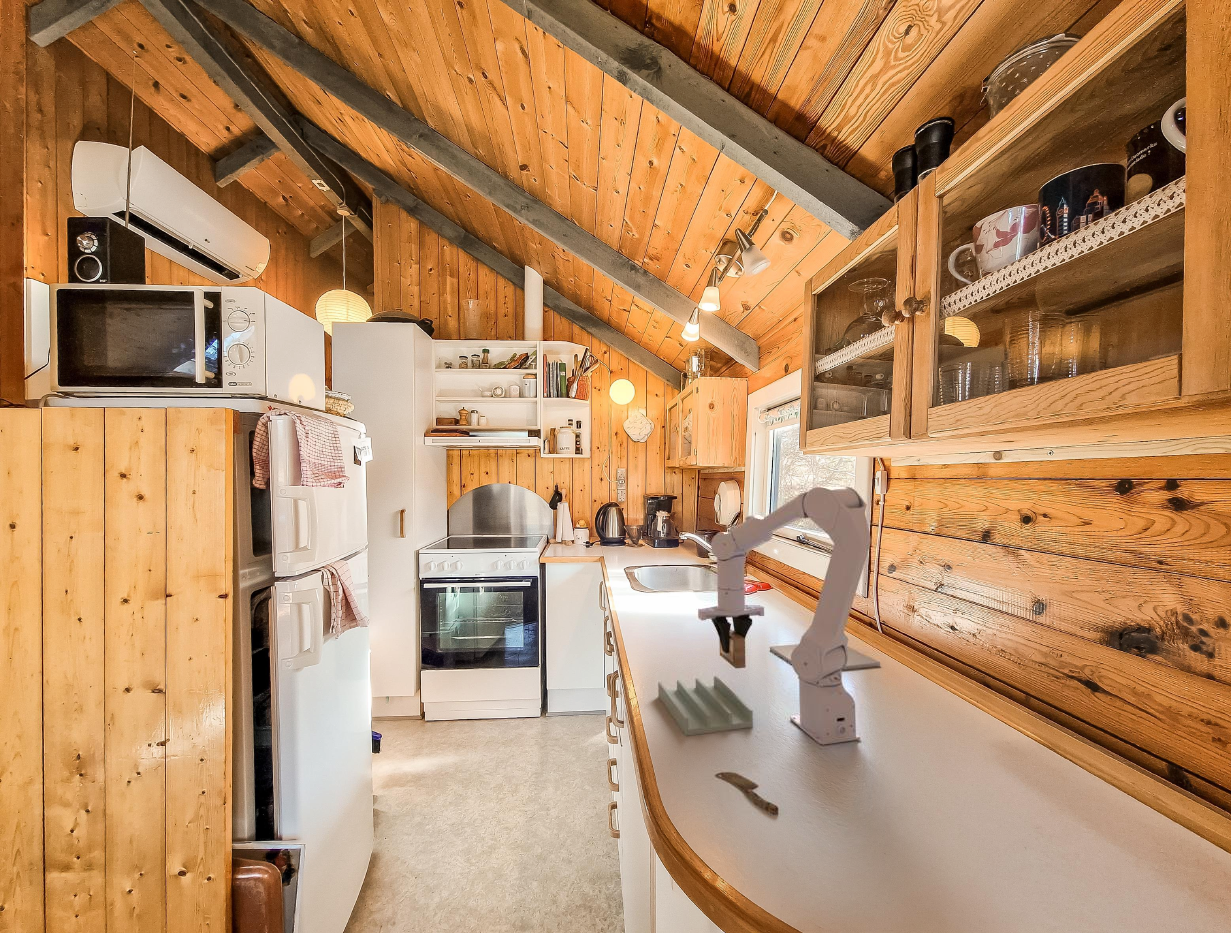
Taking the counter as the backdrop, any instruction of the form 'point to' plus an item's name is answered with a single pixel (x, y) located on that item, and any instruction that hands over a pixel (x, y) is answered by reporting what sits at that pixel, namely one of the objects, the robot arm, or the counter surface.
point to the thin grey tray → (854, 662)
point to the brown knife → (747, 790)
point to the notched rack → (706, 707)
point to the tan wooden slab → (735, 650)
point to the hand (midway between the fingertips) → (732, 650)
